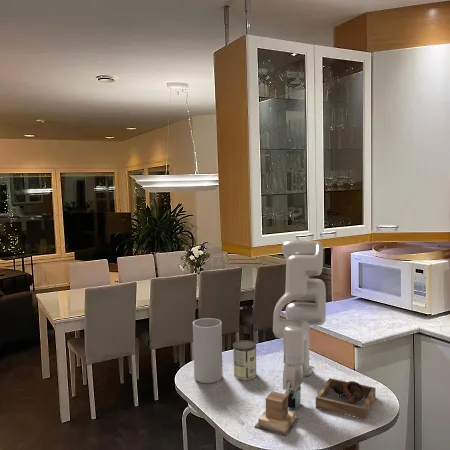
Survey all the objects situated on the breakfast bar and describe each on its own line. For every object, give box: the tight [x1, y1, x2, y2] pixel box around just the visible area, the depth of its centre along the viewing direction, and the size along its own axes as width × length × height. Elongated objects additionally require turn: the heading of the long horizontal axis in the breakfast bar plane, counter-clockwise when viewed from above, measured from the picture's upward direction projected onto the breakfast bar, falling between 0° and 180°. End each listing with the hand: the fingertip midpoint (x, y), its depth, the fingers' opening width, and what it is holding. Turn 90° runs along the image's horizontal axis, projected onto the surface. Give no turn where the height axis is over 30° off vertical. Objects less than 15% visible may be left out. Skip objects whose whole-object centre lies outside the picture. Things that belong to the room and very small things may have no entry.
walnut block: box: [265, 390, 289, 421], centre depth 158 cm, size 6×6×7 cm
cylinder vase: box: [192, 317, 224, 384], centre depth 195 cm, size 12×12×25 cm
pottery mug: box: [332, 380, 365, 405], centre depth 174 cm, size 12×10×8 cm
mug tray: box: [315, 377, 377, 420], centre depth 172 cm, size 18×18×4 cm
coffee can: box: [232, 339, 257, 381], centre depth 197 cm, size 10×10×14 cm
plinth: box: [254, 409, 300, 437], centre depth 158 cm, size 12×12×3 cm
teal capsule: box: [289, 388, 301, 410], centre depth 170 cm, size 5×5×6 cm
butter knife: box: [226, 406, 245, 425], centre depth 171 cm, size 1×27×3 cm
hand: (293, 403), depth 170 cm, fingers closed on teal capsule, 5 cm apart
